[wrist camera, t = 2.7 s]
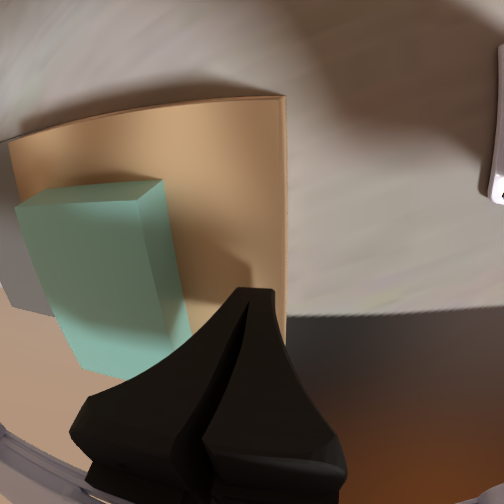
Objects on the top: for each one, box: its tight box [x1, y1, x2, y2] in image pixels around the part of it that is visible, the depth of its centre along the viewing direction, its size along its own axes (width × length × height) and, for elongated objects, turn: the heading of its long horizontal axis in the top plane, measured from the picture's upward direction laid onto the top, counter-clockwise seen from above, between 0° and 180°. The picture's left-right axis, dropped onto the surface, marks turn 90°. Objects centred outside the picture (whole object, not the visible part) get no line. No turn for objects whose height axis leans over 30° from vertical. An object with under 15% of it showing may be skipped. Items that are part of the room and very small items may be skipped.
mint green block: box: [15, 180, 192, 380], centre depth 12 cm, size 6×9×2 cm, turn 3°
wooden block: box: [8, 96, 288, 344], centre depth 15 cm, size 12×14×4 cm
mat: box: [0, 126, 55, 317], centre depth 18 cm, size 12×14×1 cm
